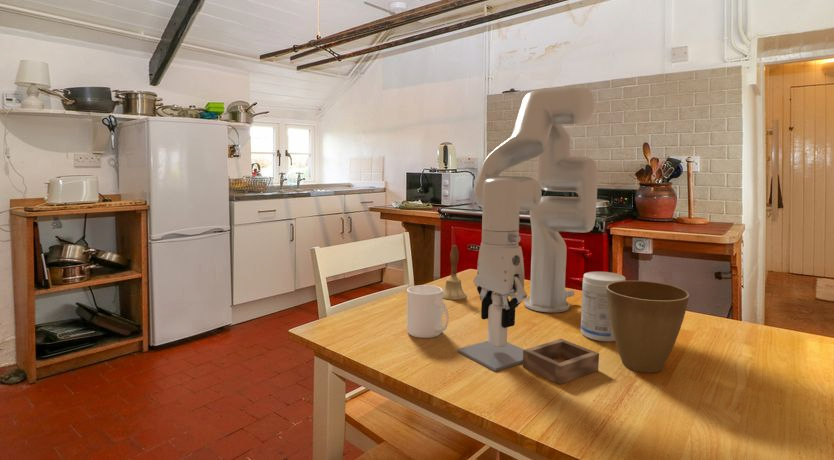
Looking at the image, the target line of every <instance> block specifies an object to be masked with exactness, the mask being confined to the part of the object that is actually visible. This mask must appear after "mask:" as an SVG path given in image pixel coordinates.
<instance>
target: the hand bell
mask: <svg viewBox="0 0 834 460" xmlns="http://www.w3.org/2000/svg"><path fill="white" fill-rule="evenodd" d="M449 254H450V255H449V258H450V265H451V268H450V269H451V270H450V271H451V272H450V276H449V277H447V278H446V280H445V286H444V288H443V299H444V300H449V301H457V300H458V301H459V300H464V299H466V298H467V293H465V292H464V290H463V286H462V281H461V278H459V277H457V274H458V272H457V270H458V269H457V264H458V262H459V259H460V258H459V257H460V255H459V249H458V246H457V245H456V244H453V245H452V246H451V250H450V253H449Z"/></svg>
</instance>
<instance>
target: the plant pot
mask: <svg viewBox="0 0 834 460" xmlns="http://www.w3.org/2000/svg"><path fill="white" fill-rule="evenodd" d="M606 290H607V300H608V308H609V314H610V320H611V325H612V329H613V334H614V338H615V341H614V342H615V344H616V347H617V351H618V354H619V357H620V360H621V362H622V365H624V366H625V367H626V368H628V369H631V370H633V371H635V372H641V373H658V372H661V371H662V370H663V368H664V366H665V364H666V362H667V361H668V359H669V357H670V354H671V353H672V350H673V348H674V346H675V343H676V341H677V338H678V336H679V334H680V331H681V328H682V325H683V322H684V318H685V314H686V311H687V308H688V307H687V306H688V303H689V299H690V293H689V291H687V290H686V289H683V288H681V287H680V286H679V287H678V286H676V285H673V284H669V283H663V282H657V281H650V280H649V281H648V280H626V281H617V282H612V283H610V284H608V285H607V286H606Z"/></svg>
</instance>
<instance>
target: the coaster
mask: <svg viewBox="0 0 834 460" xmlns="http://www.w3.org/2000/svg"><path fill="white" fill-rule="evenodd" d="M523 350H525V349H524V348H522V347H520V346H517V345H515V344H513V343H510V342H508V341H507V346H505V347H495V346H493V345H492V344H490V343H489V342H488V340H486V341H485V340H484V341H482V342H478V343H474V344H471V345H466V346H463V347H460V348H457V349H456V352H457V353H460V354H461V355H463V356H464V357H467V358H469V359H471V360H473V361H475V363H478V364H480V365H481V366H484V367H486V368H488V369H490V370H491V371H494V372H498V371H501V370H504V369H507V368H510V367H514V366H517V365H521V364H523Z"/></svg>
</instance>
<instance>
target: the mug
mask: <svg viewBox="0 0 834 460" xmlns="http://www.w3.org/2000/svg"><path fill="white" fill-rule="evenodd" d="M443 290H444V288H442V287H440V286H438V285H429V284H419V285H412V286H409V287H408V288H406V329H407V330H406V331H407V333H408V335H410V336H412V337H414V338H419V339H429V338H430V339H431V338H432V339H433V338H435V337H438V336H440V335H441V334H442V332H445V330H446V329H447V327H448V326H449V311H448V308H447V305H446V303H444V300H443V299H444V298H443ZM443 312H444V315H445V317H446V321H445V324H444V325H443Z"/></svg>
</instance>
